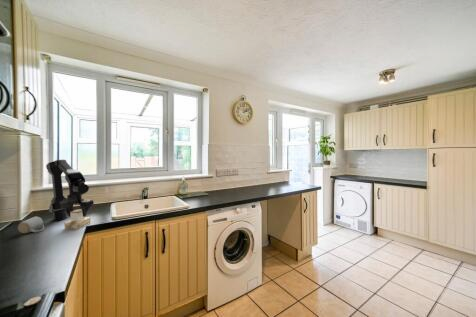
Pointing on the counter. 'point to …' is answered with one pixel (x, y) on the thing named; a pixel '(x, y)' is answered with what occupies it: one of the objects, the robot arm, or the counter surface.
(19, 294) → the counter surface
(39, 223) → the ceramic mug
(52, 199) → the robot arm
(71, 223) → the oak block
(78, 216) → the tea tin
